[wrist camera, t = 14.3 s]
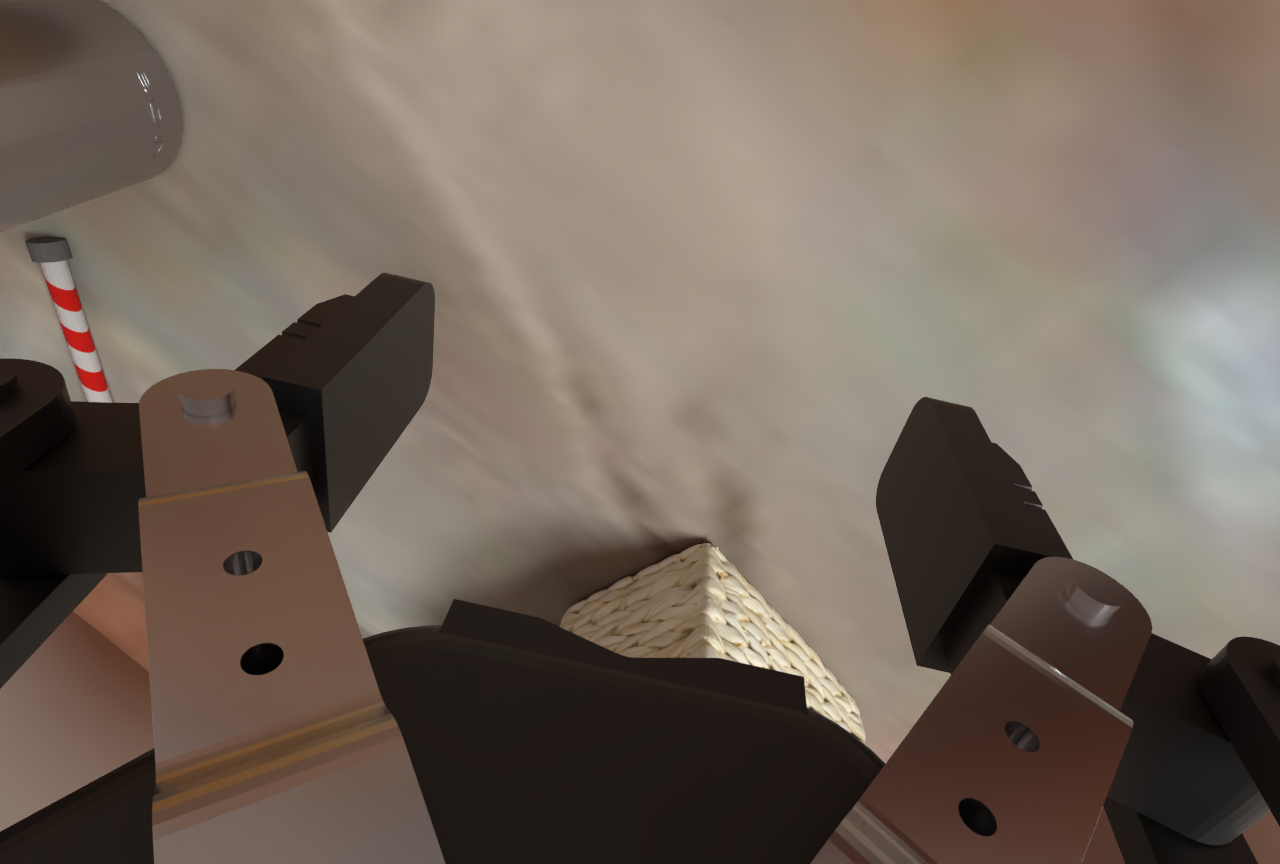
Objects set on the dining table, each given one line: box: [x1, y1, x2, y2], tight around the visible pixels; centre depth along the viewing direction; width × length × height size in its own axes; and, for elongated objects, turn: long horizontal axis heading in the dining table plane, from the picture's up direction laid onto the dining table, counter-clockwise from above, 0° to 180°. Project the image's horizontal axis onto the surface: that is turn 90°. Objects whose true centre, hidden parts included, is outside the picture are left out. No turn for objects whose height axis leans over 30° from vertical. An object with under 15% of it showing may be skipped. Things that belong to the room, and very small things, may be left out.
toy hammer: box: [26, 237, 113, 403], centre depth 47 cm, size 23×12×6 cm, turn 179°
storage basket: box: [559, 543, 867, 746], centre depth 51 cm, size 24×16×15 cm
